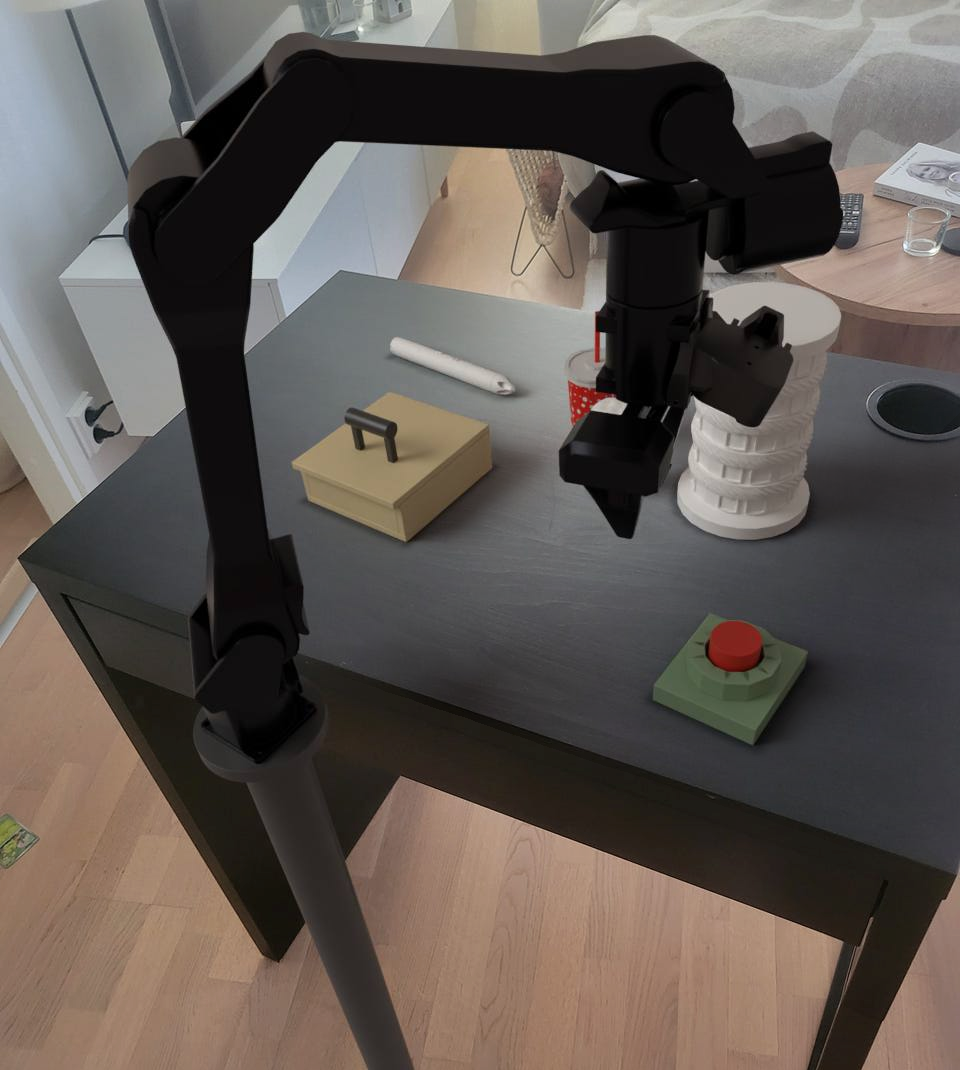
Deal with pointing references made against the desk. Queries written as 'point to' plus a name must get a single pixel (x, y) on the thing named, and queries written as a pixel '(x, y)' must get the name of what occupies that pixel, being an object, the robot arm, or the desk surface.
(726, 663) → the release button
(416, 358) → the marker
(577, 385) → the beverage cup
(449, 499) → the tan wooden shallow box
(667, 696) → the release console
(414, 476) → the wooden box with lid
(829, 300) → the decorative container
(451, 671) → the desk surface
